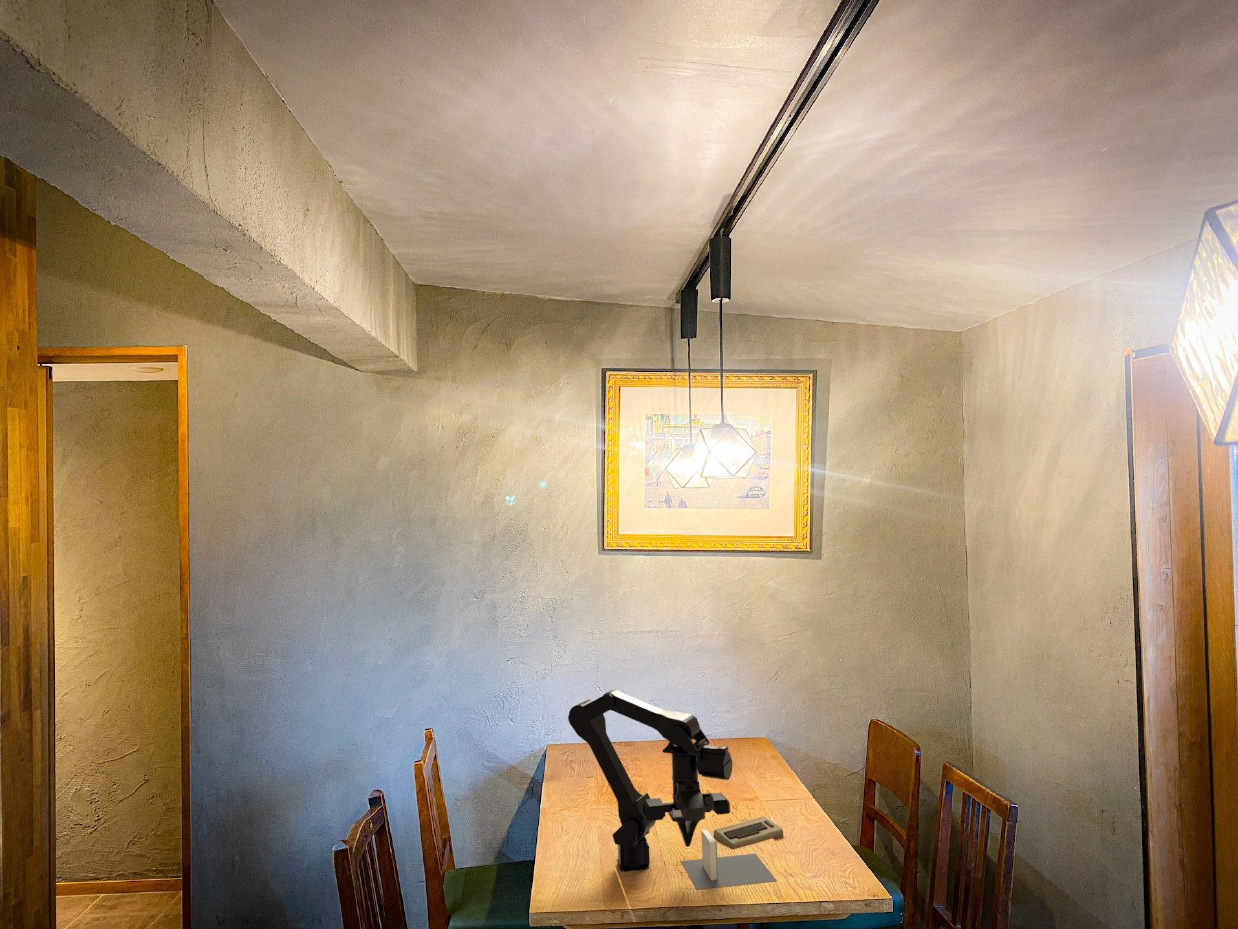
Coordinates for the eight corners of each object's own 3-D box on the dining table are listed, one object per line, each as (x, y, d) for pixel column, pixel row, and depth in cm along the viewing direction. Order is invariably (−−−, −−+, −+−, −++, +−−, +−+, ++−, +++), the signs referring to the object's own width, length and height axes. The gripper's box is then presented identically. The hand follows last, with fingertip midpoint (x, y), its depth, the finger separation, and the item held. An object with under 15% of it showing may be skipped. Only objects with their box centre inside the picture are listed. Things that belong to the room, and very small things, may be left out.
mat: (696, 892, 166) (696, 890, 166) (680, 864, 179) (680, 861, 179) (777, 884, 169) (777, 881, 169) (755, 856, 182) (755, 853, 182)
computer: (733, 853, 185) (732, 839, 185) (713, 841, 192) (712, 827, 193) (784, 838, 193) (783, 824, 193) (762, 827, 200) (762, 814, 200)
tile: (711, 880, 170) (710, 842, 170) (702, 866, 177) (701, 829, 177) (717, 879, 170) (716, 841, 170) (708, 865, 177) (707, 829, 177)
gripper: (651, 790, 164) (653, 866, 163) (736, 782, 167) (739, 857, 166) (641, 773, 175) (643, 844, 174) (721, 766, 178) (723, 836, 177)
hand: (687, 846), depth 173 cm, fingers closed
